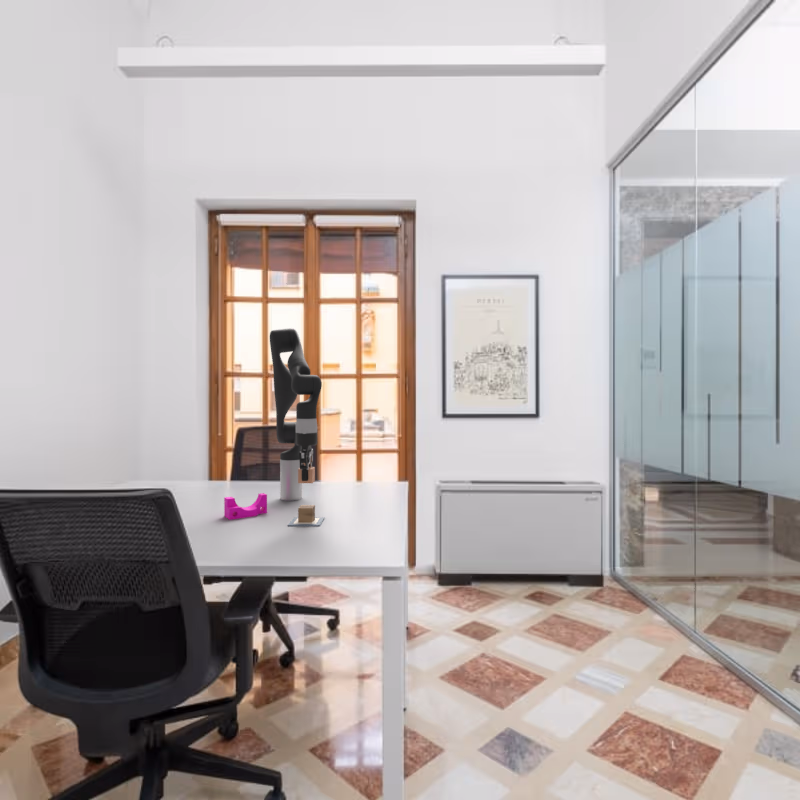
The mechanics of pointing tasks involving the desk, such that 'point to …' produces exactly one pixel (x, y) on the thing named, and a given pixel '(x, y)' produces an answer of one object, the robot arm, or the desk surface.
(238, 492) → the desk surface
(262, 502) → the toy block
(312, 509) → the walnut cube
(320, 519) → the blue bordered cream board
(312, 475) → the terracotta cube
